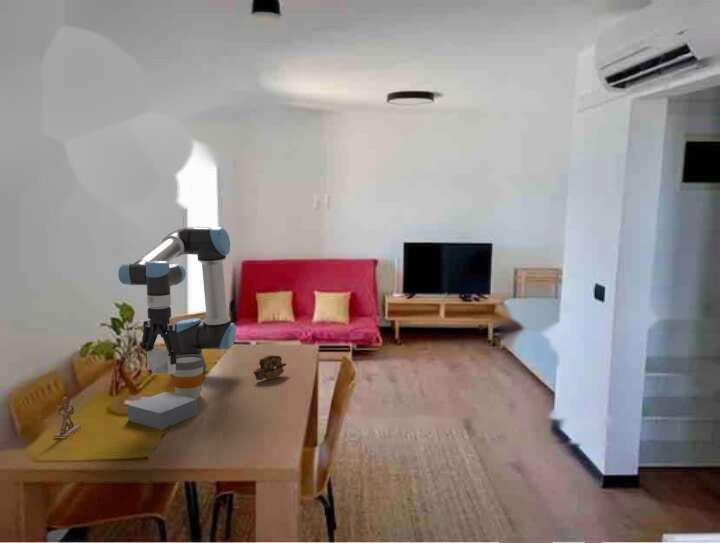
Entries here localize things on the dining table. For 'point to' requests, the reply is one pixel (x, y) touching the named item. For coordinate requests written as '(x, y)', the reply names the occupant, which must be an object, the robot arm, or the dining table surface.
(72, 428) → the brown figurine
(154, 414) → the slate block
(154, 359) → the die
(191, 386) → the reusable coffee cup
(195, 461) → the dining table surface
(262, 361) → the wooden carving
